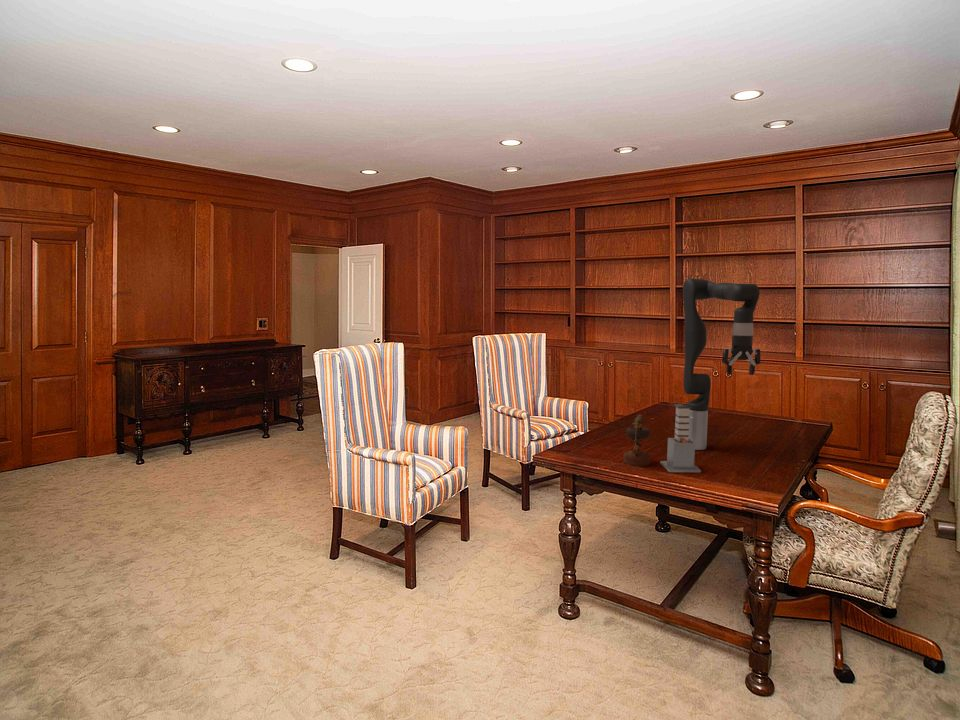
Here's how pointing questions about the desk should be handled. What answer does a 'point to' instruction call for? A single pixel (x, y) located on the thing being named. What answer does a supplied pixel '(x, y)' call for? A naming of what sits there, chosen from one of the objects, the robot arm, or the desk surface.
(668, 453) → the stand
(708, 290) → the robot arm
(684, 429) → the column
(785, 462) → the desk surface
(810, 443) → the desk surface
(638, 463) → the brown piece
